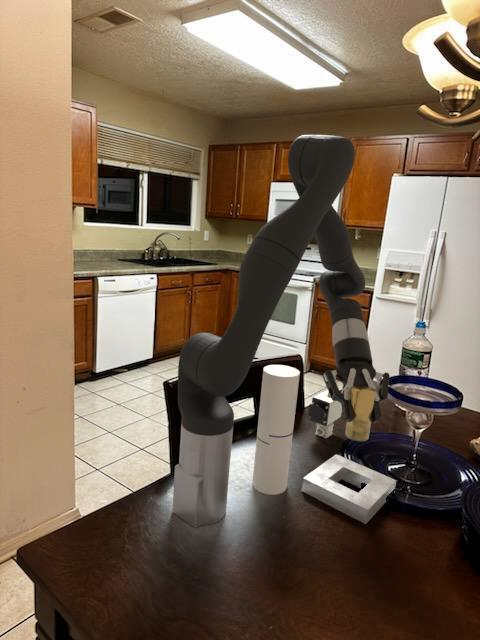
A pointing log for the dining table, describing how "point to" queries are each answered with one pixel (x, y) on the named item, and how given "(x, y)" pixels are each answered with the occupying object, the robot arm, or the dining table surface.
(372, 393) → the tan piece
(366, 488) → the frame
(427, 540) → the dining table surface
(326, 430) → the pneumatic valve
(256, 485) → the cylindrical container
